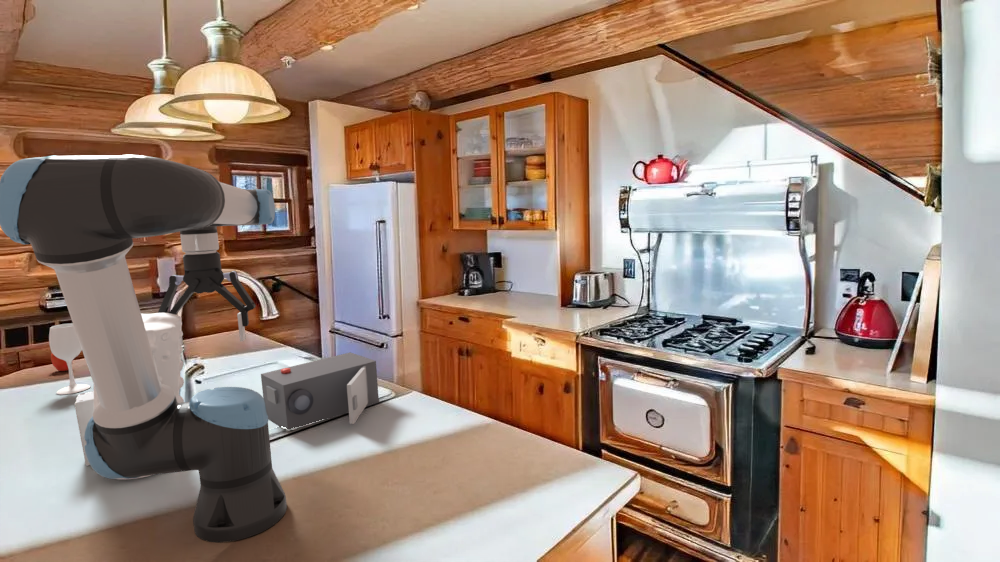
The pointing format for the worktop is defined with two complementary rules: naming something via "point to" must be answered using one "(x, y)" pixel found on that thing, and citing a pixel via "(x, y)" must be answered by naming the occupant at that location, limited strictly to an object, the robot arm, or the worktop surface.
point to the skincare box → (84, 415)
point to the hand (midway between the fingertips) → (211, 343)
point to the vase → (163, 351)
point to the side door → (357, 394)
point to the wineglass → (66, 352)
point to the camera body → (315, 389)
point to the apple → (59, 363)
